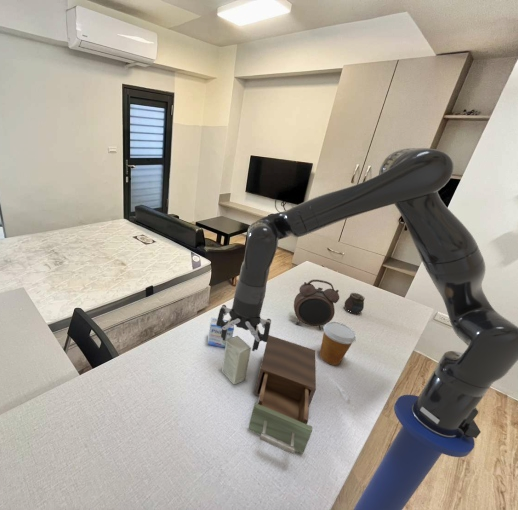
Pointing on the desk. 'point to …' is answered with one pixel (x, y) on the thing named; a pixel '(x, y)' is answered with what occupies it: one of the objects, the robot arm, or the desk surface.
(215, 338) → the medicine box
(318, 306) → the alarm clock
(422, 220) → the robot arm
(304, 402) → the drawer
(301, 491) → the desk surface
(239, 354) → the cosmetic box
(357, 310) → the mate gourd
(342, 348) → the disposable coffee cup
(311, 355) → the cabinet
